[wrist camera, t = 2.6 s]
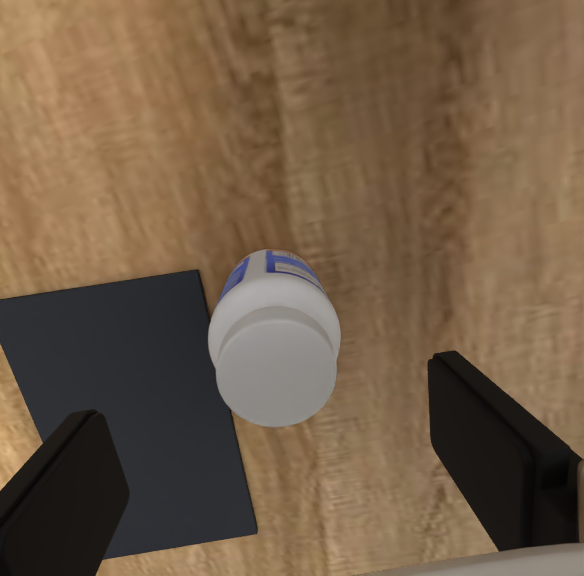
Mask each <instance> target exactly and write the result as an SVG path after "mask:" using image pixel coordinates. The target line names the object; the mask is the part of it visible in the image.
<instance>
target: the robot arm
mask: <svg viewBox="0 0 584 576" xmlns="http://www.w3.org/2000/svg"><path fill="white" fill-rule="evenodd" d="M428 390H429V414H430V437H431V443H432V446H433V448H434V451H435V452H436V454H437V455H438V457H439V459H440V460H441V462H442V463H443V465H444V466H445V468H446V469H447V471H448V473H449V474H450V476H451V477H452V479H453V480H454V482H455V483H456V485H457V487H458V488H459V490H460V491H461V493H462V494H463V496H464V498H465V499H466V501H467V502H468V504H469V505H470V507H471V508H472V510H473V512H474V513H475V515H476V516H477V518H478V519H479V521H480V522H481V524H482V526H483V527H484V529H485V530H486V532H487V533H488V535H489V536H490V538H491V540H492V541H493V543H494V544H495V546H496V547H497V549H498V550H499V552H494V553H487V554H480V555H474V556H467V557H460V558H454V559H447V560H441V561H435V562H430V563H424V564H418V565H412V566H406V567H400V568H394V569H388V570H382V571H377V572H371V573H365V574H359V575H353V576H584V459H582V458H581V457H580V456H578V455H577V454H576V453H575V452H574V451H573V450H571V449H570V447H569V446H568V445H567V444H566V443H565V442H563V441H562V440H561V439H560V438H559V437H558V436H556V435H555V434H554V433H553V432H552V431H550V430H549V429H548V428H547V427H546V426H544V425H543V424H542V423H541V422H540V421H539V420H537V419H536V418H535V417H534V416H533V415H531V414H530V413H529V412H528V411H527V410H526V409H524V408H523V407H522V406H521V405H520V404H518V403H517V402H516V401H515V400H514V399H513V398H511V397H510V396H509V395H508V394H507V393H505V392H504V391H503V390H502V389H501V388H499V387H498V386H497V385H496V384H495V383H494V382H492V381H491V380H490V379H489V378H488V377H486V376H485V375H484V374H483V373H482V372H481V371H479V370H478V369H477V368H476V367H475V366H473V365H472V364H471V363H470V362H469V361H468V360H466V359H465V358H464V357H463V356H462V355H460V354H459V353H458V352H457V351H455V350H454V351H447V352H441V353H435V354H434V355H433V359H429V360H428ZM129 495H130V492H129V486H128V484H127V481H126V478H125V475H124V472H123V469H122V466H121V463H120V460H119V457H118V454H117V451H116V448H115V445H114V442H113V439H112V436H111V433H110V430H109V427H108V424H107V421H106V418H105V416H104V415H103V414H102V413H98V411H97V410H95V409H90V410H83V411H77V412H72V413H71V414H69V415H68V416H67V417H66V418H65V420H64V421H63V422H62V423H61V424H60V425H59V426H58V427H57V429H56V430H55V431H54V432H53V433H52V434H51V435H50V436H49V437H48V439H47V440H46V441H45V442H44V443H43V444H42V445H41V446H40V447H39V449H38V450H37V451H36V452H35V453H34V454H33V455H32V456H31V457H30V459H29V460H28V461H27V462H26V463H25V464H24V465H23V466H22V467H21V469H20V470H19V471H18V472H17V473H16V474H15V475H14V476H13V477H12V479H11V480H10V481H9V482H8V483H7V484H6V485H5V486H4V487H3V489H2V490H1V491H0V576H95V575H96V573H97V571H98V568H99V566H100V564H101V562H102V560H103V557H104V555H105V553H106V551H107V548H108V546H109V544H110V542H111V540H112V537H113V535H114V533H115V531H116V529H117V526H118V524H119V522H120V520H121V518H122V515H123V513H124V511H125V509H126V507H127V504H128V501H129Z"/></svg>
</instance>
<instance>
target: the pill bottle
mask: <svg viewBox="0 0 584 576" xmlns="http://www.w3.org/2000/svg"><path fill="white" fill-rule="evenodd" d="M340 341H341V331H340V324H339V320H338V317H337V314H336V312H335V310H334V307H333V305H332V303H331V302H330V300H329V298H328V296H327V294H326V292H325V291H324V289H323V287H322V285H321V283H320V282H319V280H318V278H317V276H316V274H315V273H314V271H313V270H312V268H311V267H310V266H309V264H308V263H307V262H306V261H305V260H304V259H302V258H301V257H299V256H298V255H296V254H294V253H292V252H289V251H286V250H281V249H264V250H260V251H256V252H254V253H251V254H249V255H248V256H246V257H245V258H243V259H242V260H241V261H240V262H239V263H238V264H237V265H236V266H235V267H234V269H233V270H232V272H231V274H230V275H229V277H228V280H227V282H226V284H225V287H224V289H223V291H222V294H221V296H220V298H219V301H218V303H217V305H216V307H215V310H214V312H213V315H212V319H211V322H210V325H209V333H208V346H209V353H210V356H211V359H212V362H213V364H214V366H215V368H216V381H217V385H218V389H219V392H220V394H221V396H222V398H223V400H224V402H225V403H226V404H227V405H228V407H229V408H230V409H231V410H232V411H233V412H234V413H236V414H237V415H238V416H240V417H241V418H243V419H245V420H247V421H249V422H251V423H254V424H257V425H261V426H266V427H284V426H290V425H294V424H297V423H300V422H302V421H304V420H306V419H308V418H310V417H311V416H313V415H314V414H315V413H317V412H318V411H319V410H320V409H321V408H322V407H323V406H324V405H325V403H326V402H327V401H328V399H329V398H330V396H331V394H332V392H333V389H334V386H335V382H336V376H337V366H336V360H337V357H338V353H339V349H340Z"/></svg>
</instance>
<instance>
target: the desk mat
mask: <svg viewBox="0 0 584 576" xmlns="http://www.w3.org/2000/svg"><path fill="white" fill-rule="evenodd" d="M209 325H210V318H209V313H208V309H207V305H206V300H205V296H204V291H203V287H202V283H201V278H200V274H199V270H198V269H197V270H190V271H184V272H177V273H171V274H164V275H158V276H151V277H145V278H138V279H131V280H125V281H118V282H112V283H105V284H99V285H92V286H86V287H79V288H72V289H66V290H59V291H53V292H46V293H40V294H33V295H27V296H20V297H13V298H7V299H0V344H1V346H2V348H3V351H4V353H5V355H6V358H7V360H8V362H9V365H10V367H11V369H12V372H13V374H14V376H15V379H16V381H17V383H18V386H19V388H20V390H21V393H22V395H23V397H24V400H25V402H26V405H27V407H28V409H29V412H30V414H31V416H32V419H33V421H34V423H35V426H36V428H37V430H38V433H39V435H40V437H41V440H42V442H43V443H44V442H45V441H46V440H47V439H48V437H49V436H50V435H51V434H52V433H53V432H54V431H55V430H56V429H57V427H58V426H59V425H60V424H61V423H62V422H63V421H64V420H65V418H66V417H67V416H68V415H69V414H71V413H72V412H77V411H83V410H90V409H95V410H97V411H98V413H102V414H103V415H104V416H105V418H106V421H107V424H108V427H109V430H110V433H111V436H112V439H113V442H114V445H115V448H116V451H117V454H118V457H119V460H120V463H121V466H122V469H123V472H124V475H125V478H126V481H127V484H128V486H129V492H130V495H129V501H128V504H127V507H126V509H125V511H124V513H123V515H122V518H121V520H120V522H119V524H118V526H117V529H116V531H115V533H114V535H113V537H112V540H111V542H110V544H109V546H108V548H107V551H106V553H105V555H104V557H103V560H104V559H110V558H116V557H122V556H128V555H134V554H140V553H146V552H152V551H158V550H164V549H170V548H176V547H182V546H188V545H194V544H200V543H206V542H212V541H218V540H224V539H230V538H236V537H242V536H248V535H254V534H257V532H258V529H257V524H256V520H255V515H254V511H253V507H252V502H251V498H250V493H249V489H248V485H247V480H246V476H245V472H244V467H243V463H242V458H241V454H240V450H239V445H238V441H237V436H236V432H235V428H234V423H233V419H232V414H231V410H230V408H229V407H228V405H227V404H226V403H225V402H224V400H223V398H222V396H221V394H220V392H219V389H218V385H217V381H216V368H215V366H214V364H213V362H212V359H211V356H210V353H209V346H208V333H209Z"/></svg>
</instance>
